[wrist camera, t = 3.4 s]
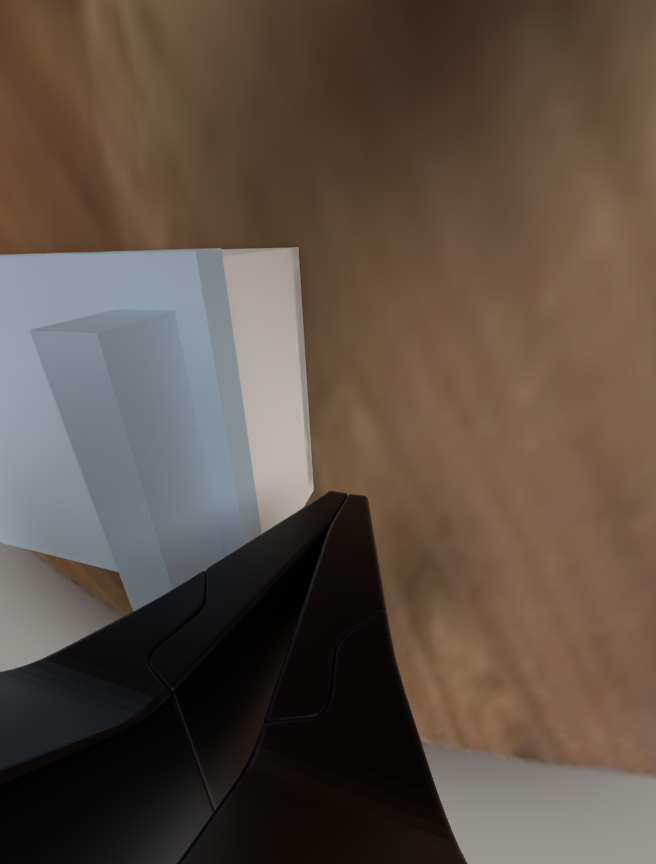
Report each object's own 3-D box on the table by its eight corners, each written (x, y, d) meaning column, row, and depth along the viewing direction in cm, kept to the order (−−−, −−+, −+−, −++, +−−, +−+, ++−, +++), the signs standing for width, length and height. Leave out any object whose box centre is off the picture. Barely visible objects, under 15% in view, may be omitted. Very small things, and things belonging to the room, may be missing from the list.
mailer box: (298, 247, 14) (222, 256, 9) (313, 490, 18) (266, 570, 14) (1, 255, 18) (-148, 265, 13) (74, 453, 22) (-20, 507, 18)
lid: (220, 248, 9) (114, 258, 6) (268, 582, 14) (219, 671, 11) (-167, 259, 13) (-333, 268, 10) (-28, 514, 18) (-118, 567, 15)
